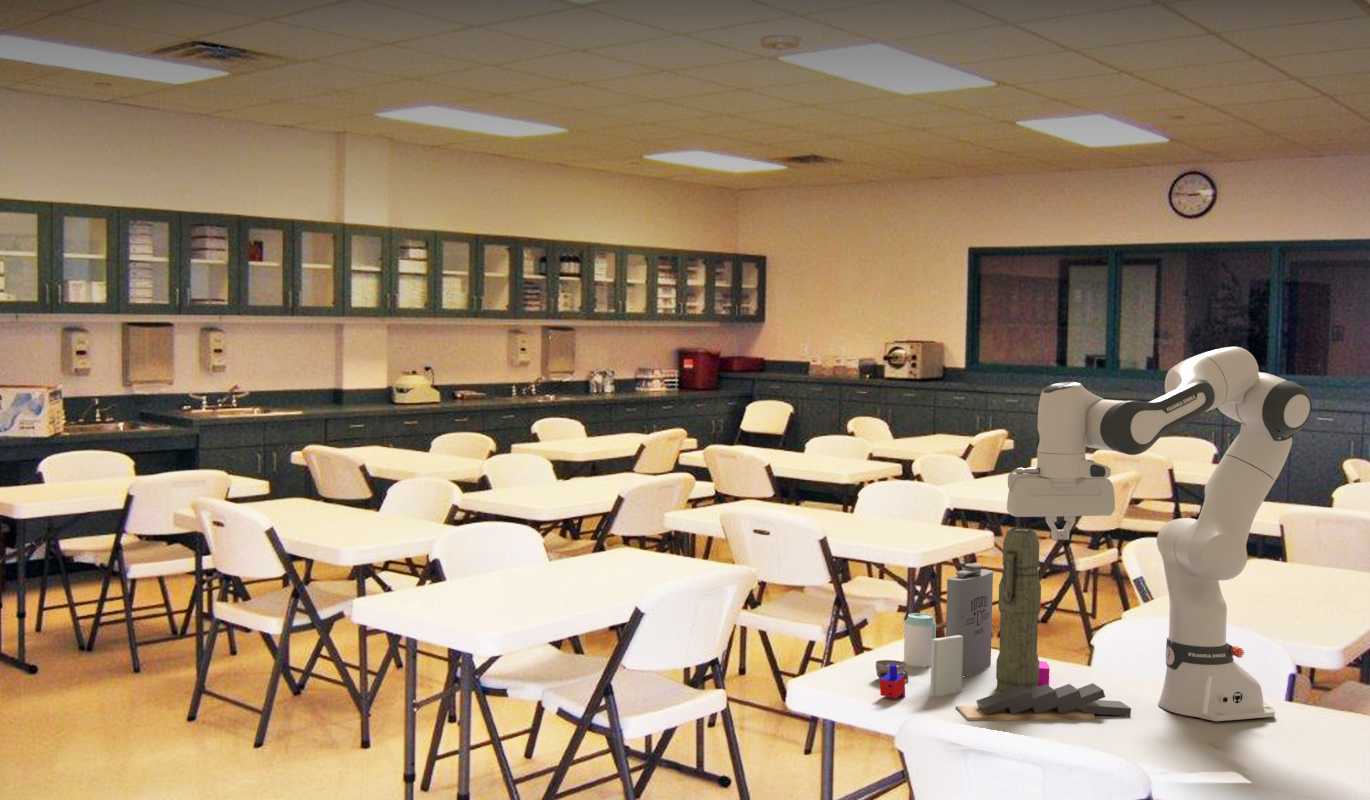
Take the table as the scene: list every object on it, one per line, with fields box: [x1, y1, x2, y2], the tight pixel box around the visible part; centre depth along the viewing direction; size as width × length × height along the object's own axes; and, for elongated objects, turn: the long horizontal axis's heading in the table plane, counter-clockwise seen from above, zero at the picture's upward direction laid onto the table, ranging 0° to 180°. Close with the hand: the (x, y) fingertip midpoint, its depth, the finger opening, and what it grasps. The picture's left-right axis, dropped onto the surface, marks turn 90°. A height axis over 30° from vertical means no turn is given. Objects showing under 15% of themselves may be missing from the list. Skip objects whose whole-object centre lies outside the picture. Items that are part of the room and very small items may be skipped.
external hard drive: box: [929, 635, 963, 698], centre depth 275 cm, size 2×8×12 cm, turn 123°
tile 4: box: [1052, 682, 1106, 714], centre depth 263 cm, size 2×5×10 cm
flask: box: [945, 563, 994, 678], centre depth 293 cm, size 17×5×25 cm, turn 141°
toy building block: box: [879, 664, 906, 699], centre depth 270 cm, size 4×4×8 cm
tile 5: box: [1076, 699, 1132, 717], centre depth 264 cm, size 2×5×10 cm
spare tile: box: [1029, 683, 1081, 714], centre depth 263 cm, size 2×5×10 cm
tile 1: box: [975, 685, 1033, 715], centre depth 262 cm, size 2×5×10 cm
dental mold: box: [875, 659, 909, 684], centre depth 283 cm, size 8×7×5 cm
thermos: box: [995, 527, 1042, 692], centre depth 279 cm, size 9×12×35 cm
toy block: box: [1037, 651, 1050, 687], centre depth 290 cm, size 15×6×8 cm, turn 167°
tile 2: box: [1005, 684, 1058, 715], centre depth 262 cm, size 2×5×10 cm
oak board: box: [955, 705, 1096, 721], centre depth 262 cm, size 26×8×1 cm, turn 96°
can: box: [903, 612, 937, 668], centre depth 299 cm, size 7×7×12 cm
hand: (1060, 539), depth 248 cm, fingers closed
